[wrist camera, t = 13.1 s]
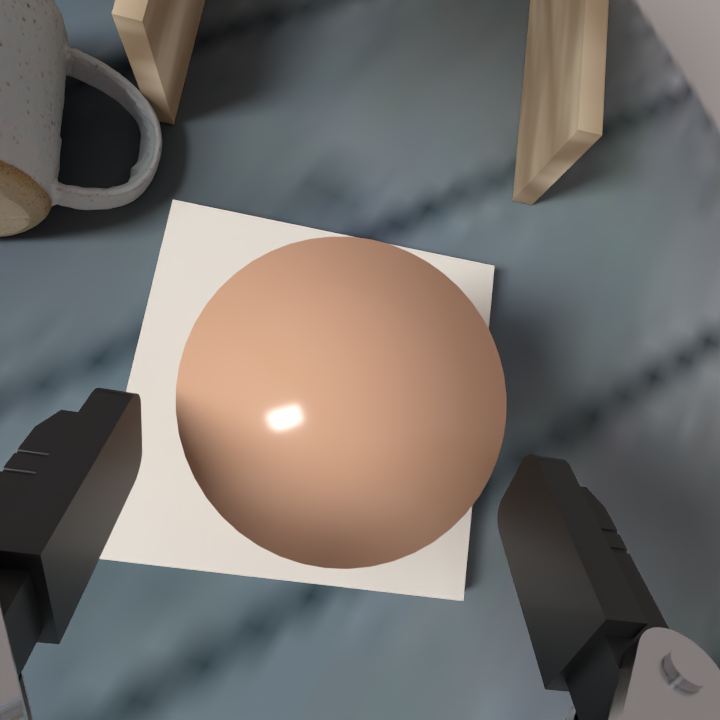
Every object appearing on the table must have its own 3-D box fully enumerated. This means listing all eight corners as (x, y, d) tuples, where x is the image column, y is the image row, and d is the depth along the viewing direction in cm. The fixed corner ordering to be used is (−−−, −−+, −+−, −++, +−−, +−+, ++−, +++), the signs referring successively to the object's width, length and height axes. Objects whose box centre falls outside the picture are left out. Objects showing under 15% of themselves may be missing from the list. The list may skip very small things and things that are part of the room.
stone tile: (95, 552, 19) (85, 556, 18) (177, 211, 22) (172, 199, 21) (454, 594, 21) (463, 600, 20) (485, 273, 24) (494, 265, 23)
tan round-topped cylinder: (210, 501, 19) (140, 547, 9) (243, 327, 20) (212, 208, 11) (387, 523, 20) (493, 586, 10) (407, 354, 21) (517, 268, 12)
